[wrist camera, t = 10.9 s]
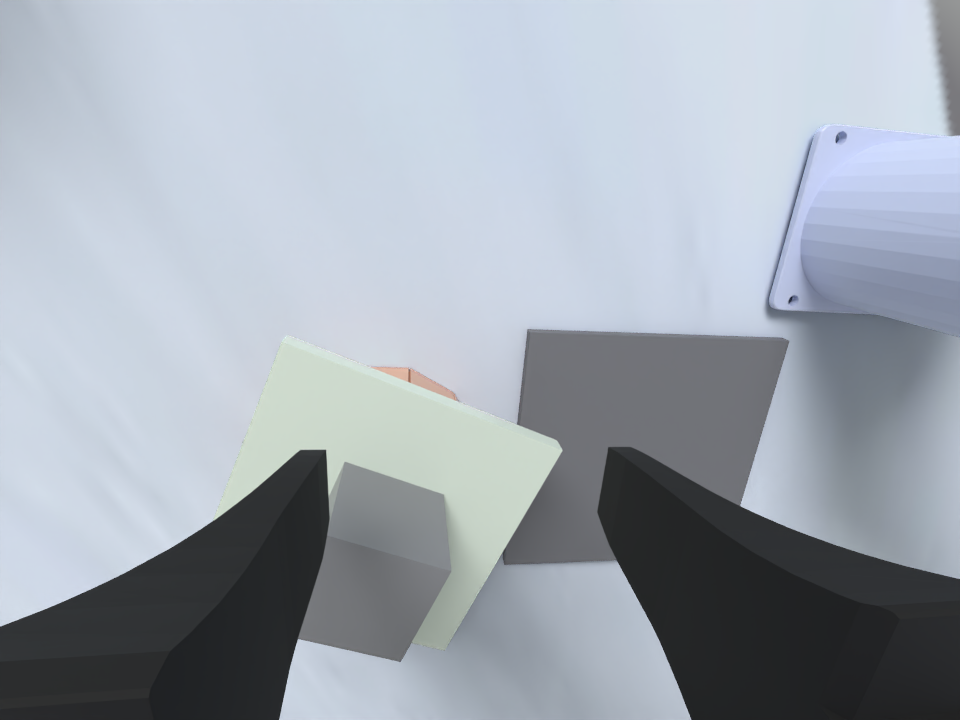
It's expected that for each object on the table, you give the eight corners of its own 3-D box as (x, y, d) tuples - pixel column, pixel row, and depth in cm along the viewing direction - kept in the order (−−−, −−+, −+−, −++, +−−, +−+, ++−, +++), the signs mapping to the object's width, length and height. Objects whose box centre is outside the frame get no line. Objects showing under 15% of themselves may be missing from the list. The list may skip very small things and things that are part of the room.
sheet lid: (556, 440, 19) (600, 516, 15) (443, 635, 22) (451, 748, 18) (287, 334, 17) (241, 389, 12) (195, 573, 19) (130, 690, 15)
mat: (781, 337, 24) (789, 340, 23) (719, 549, 28) (725, 555, 28) (527, 329, 22) (530, 332, 21) (502, 557, 26) (504, 564, 26)
